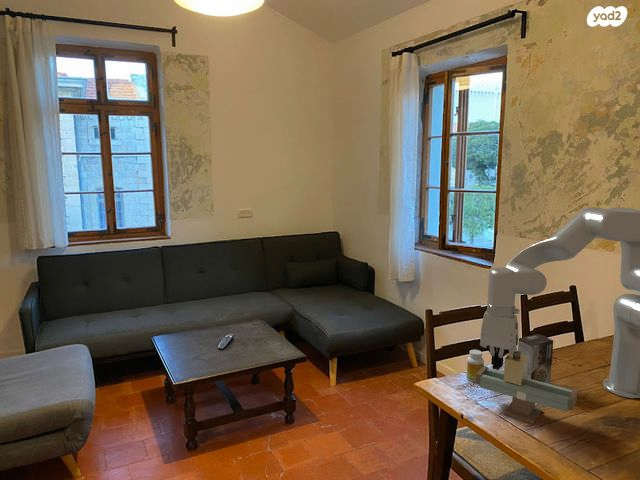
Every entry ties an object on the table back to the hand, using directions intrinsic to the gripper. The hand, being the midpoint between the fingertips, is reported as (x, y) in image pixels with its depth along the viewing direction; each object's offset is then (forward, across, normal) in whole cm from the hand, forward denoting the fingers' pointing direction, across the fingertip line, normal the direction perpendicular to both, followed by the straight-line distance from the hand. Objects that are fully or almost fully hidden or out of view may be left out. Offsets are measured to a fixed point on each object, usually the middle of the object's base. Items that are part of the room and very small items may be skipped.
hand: (496, 367), depth 145 cm
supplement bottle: (+12, +11, -13) cm, 21 cm away
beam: (+12, -8, 0) cm, 15 cm away
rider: (+4, -5, 0) cm, 7 cm away
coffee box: (+12, -6, -20) cm, 24 cm away
